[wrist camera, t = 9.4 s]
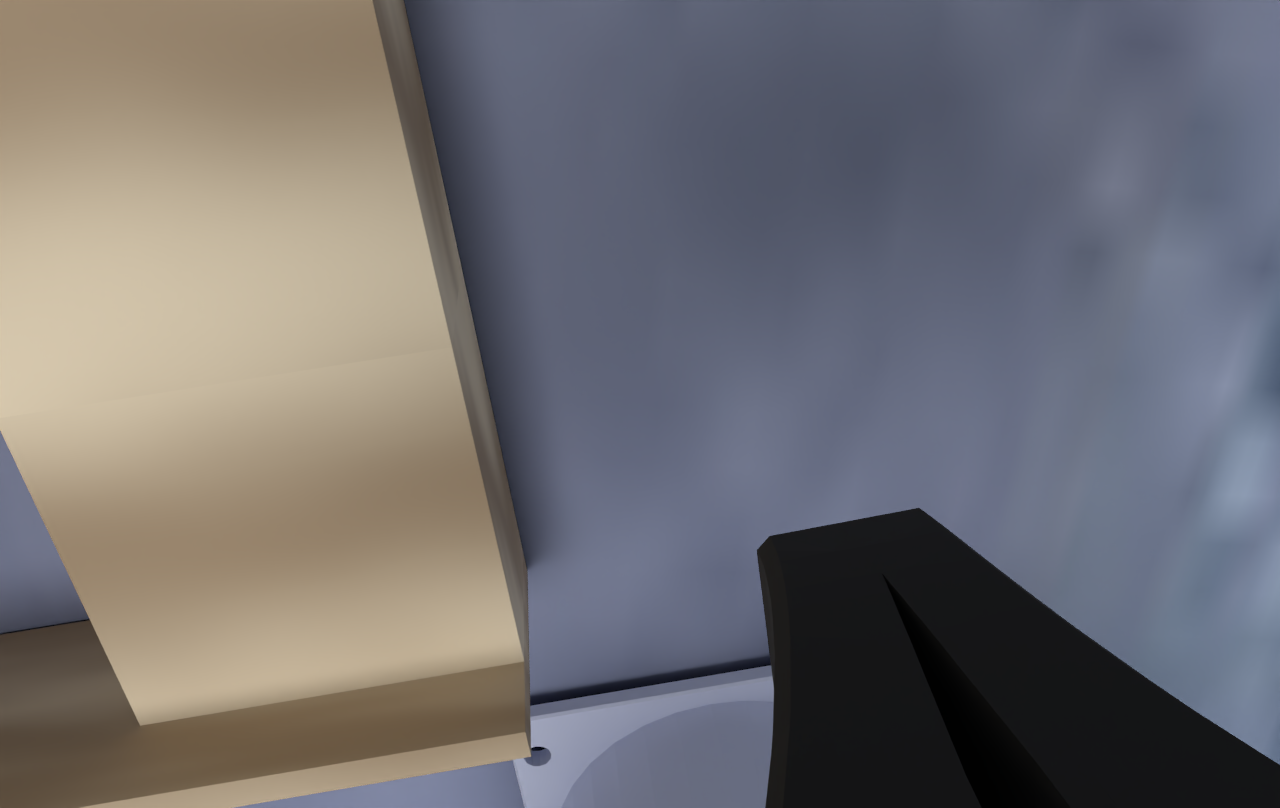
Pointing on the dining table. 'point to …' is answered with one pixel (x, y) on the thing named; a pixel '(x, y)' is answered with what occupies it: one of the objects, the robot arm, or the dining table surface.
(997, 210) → the dining table surface
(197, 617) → the trap box
